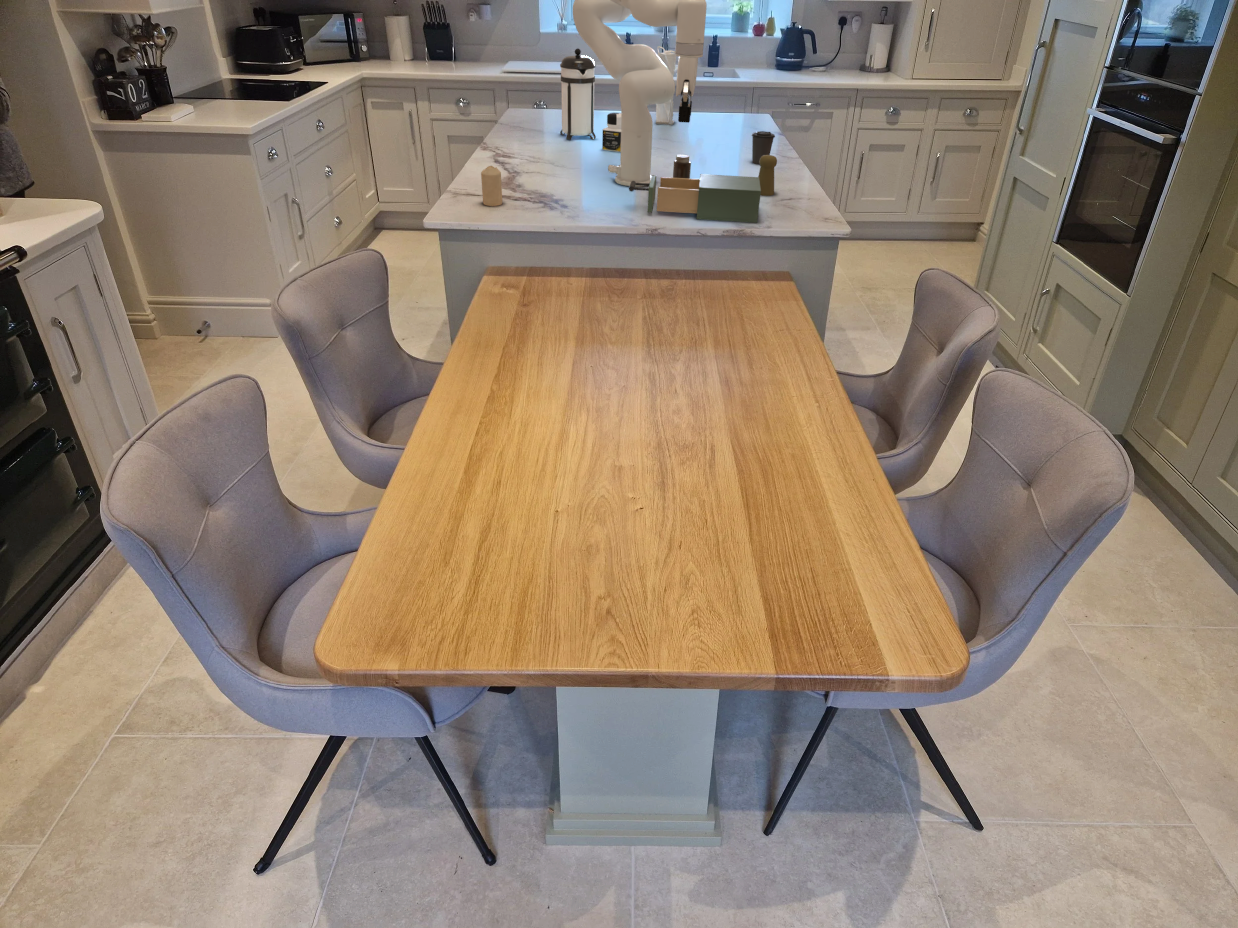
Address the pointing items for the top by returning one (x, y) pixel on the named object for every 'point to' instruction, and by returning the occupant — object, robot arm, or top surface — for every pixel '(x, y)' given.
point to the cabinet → (728, 198)
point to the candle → (491, 186)
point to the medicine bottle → (612, 133)
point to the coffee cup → (761, 145)
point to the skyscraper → (666, 109)
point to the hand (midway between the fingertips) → (684, 118)
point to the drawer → (671, 194)
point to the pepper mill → (682, 167)
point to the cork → (767, 174)
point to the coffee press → (577, 95)
